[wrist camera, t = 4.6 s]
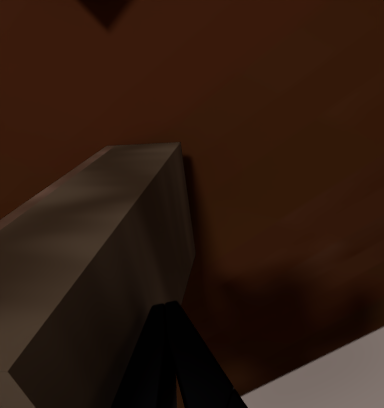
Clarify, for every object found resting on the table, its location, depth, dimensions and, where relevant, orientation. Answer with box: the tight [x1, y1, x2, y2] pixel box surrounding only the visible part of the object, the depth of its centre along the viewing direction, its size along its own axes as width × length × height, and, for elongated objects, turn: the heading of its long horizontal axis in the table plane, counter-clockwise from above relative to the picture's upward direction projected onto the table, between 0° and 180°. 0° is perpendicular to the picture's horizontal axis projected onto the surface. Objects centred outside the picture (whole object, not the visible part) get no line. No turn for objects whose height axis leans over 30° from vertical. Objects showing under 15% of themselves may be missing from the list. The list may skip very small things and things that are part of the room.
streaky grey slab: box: [0, 142, 196, 408], centre depth 11 cm, size 4×7×11 cm, turn 6°
